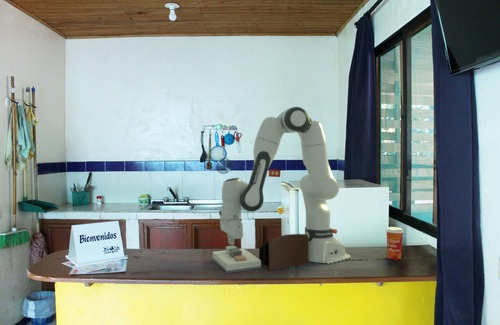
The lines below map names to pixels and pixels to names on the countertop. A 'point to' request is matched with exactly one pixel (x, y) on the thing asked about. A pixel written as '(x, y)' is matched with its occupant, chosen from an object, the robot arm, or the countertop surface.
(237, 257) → the terracotta key
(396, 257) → the paper cup
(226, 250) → the sage key
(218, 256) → the cream key base
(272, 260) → the letter holder
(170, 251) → the countertop surface
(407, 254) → the countertop surface
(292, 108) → the robot arm
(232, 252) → the charcoal key
